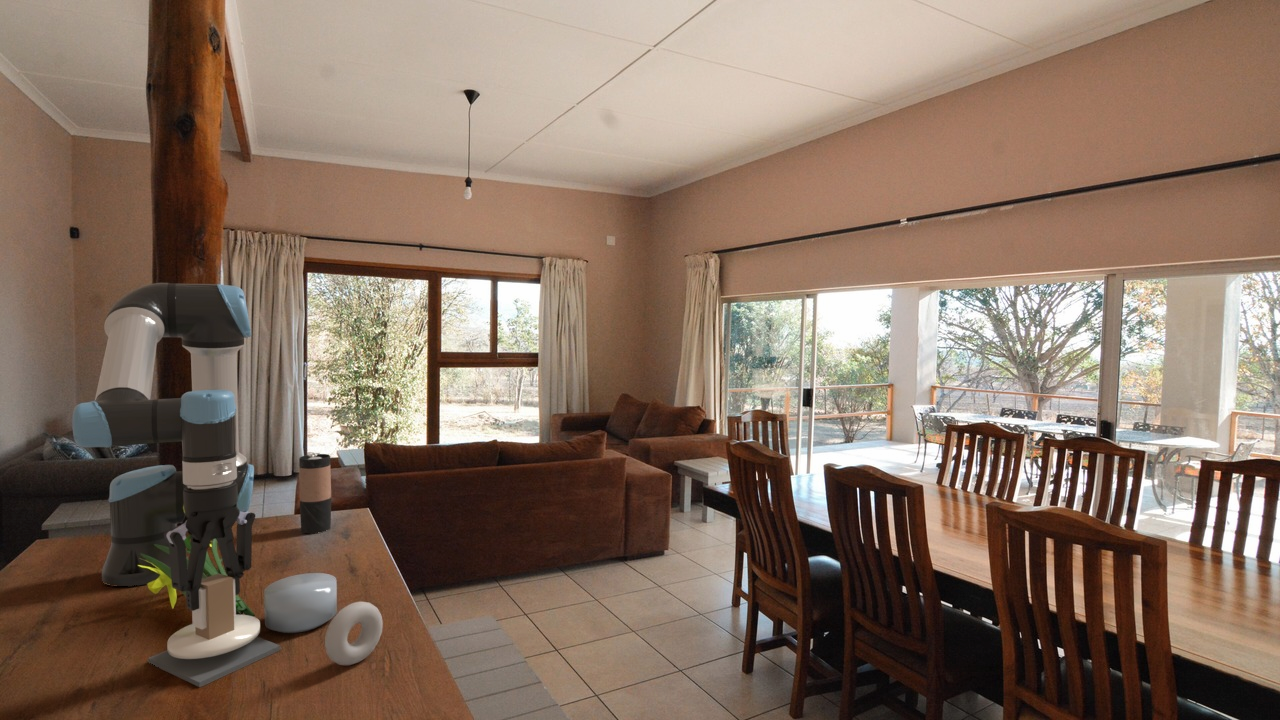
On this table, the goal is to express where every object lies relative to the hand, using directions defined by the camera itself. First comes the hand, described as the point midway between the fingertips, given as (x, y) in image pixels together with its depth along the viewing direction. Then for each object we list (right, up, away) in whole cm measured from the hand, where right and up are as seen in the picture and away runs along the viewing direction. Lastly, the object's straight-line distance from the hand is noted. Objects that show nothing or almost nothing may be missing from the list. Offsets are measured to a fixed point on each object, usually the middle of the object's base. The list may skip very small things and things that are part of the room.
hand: (214, 620), depth 108 cm
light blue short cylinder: (+8, -6, +13) cm, 16 cm away
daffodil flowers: (-13, -5, +18) cm, 23 cm away
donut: (+24, -7, -1) cm, 25 cm away
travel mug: (-16, -2, +66) cm, 68 cm away
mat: (0, -6, 0) cm, 6 cm away
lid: (0, -3, 0) cm, 3 cm away
